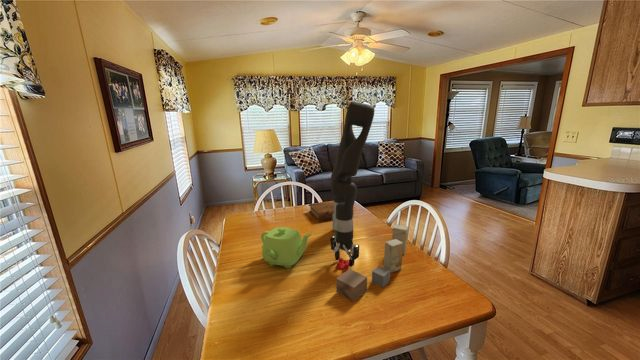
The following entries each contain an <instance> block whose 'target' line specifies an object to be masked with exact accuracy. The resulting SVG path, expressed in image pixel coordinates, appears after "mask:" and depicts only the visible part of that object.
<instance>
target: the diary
mask: <svg viewBox="0 0 640 360" xmlns="http://www.w3.org/2000/svg"><path fill="white" fill-rule="evenodd" d="M308 206H309V208H310V210H309V214H311V215H312V216H313V217H314V218H315V220H316V221H318V223H320V222H325V221H333V213H334V200H329V201H322V202H315V203H309V204H308Z"/></svg>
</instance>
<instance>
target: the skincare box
mask: <svg viewBox="0 0 640 360" xmlns="http://www.w3.org/2000/svg"><path fill="white" fill-rule="evenodd" d="M402 251H403V243H402V242H401V241H399V240H397V239H394V240H392V239H391V240H388V241H385V242H384V253H383V254H384V256H383V268H386V269H388V270H390V274H391V273H394V272H397V271H400V270H402V263H403V254H402Z"/></svg>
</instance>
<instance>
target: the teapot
mask: <svg viewBox="0 0 640 360" xmlns="http://www.w3.org/2000/svg"><path fill="white" fill-rule="evenodd" d="M312 235H313V234H312V233H306V234H303V237H302V236H301V234H300V232H299V230H298V229H296V228H290V227H285V226H278V227H274V228H273V229H271V230H270V231H269V230H266V231H265V230H264V231H263V232H262V233H261V235H260V238H261V242H262V243H263V244H262V245H261V248H262V250H261V256H262V258H263V260H265V262H266V263H268V265H269V266H270V265H271V267H274V266H281V267H284V269H287V270H289V269H291V268H293V266H294V265H295V264H297V262H298V261H299V259H300V258H301V257H302V255H303V254H304V253H305V251H306V250H307V247H308V238H309V237H311V236H312Z"/></svg>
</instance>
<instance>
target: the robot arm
mask: <svg viewBox="0 0 640 360" xmlns="http://www.w3.org/2000/svg"><path fill="white" fill-rule="evenodd" d="M374 116H375V106H374V105H371V104H369V103H362V102H358V101H351V102H349V103H348V105H347V108H346V114H345V117H344V118H345V119H344V124H343V131H342V135H341V139H340V143H339V146H338V151H337V154H336V160H335V164H334V166H333V170H332V172H331V175H330V178H329V179H330V181H329V182H330V183H329V184H330V187H331V188H330V191H331V194H332V196H333V201H334V213H333V219H332V230H333V231H334V232H335V235H333V236H331V237H330V239H329V240H330V250H331V251H333V252H334V260H335V261H339V258H341V253H340V250H341V251H344V252H345V254H346V255H347V256H348V257H349V259H348V260H349V268H352V267H353V266H354V265H355V260H356V259H358V258H359V256H360V244H354V242H353V240H354V205H355V201H356V198H357V195H358V186H357V185H356V183H354V182H353V177H356V176H357V173H358V170H359V166H360V162H361V161H360V160H361V157H362V154H363V150H364V148H365V145H366V143H367V140H368V136H369V134H370V130H371V127H372V124H373V121H374ZM353 126H357V127H359V128H361V131H360V133H359V135H358V136H357V138H356V136H355V133H354V130H353Z"/></svg>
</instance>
